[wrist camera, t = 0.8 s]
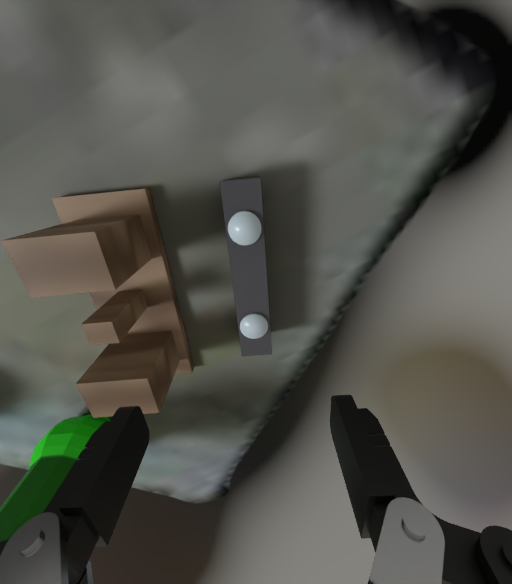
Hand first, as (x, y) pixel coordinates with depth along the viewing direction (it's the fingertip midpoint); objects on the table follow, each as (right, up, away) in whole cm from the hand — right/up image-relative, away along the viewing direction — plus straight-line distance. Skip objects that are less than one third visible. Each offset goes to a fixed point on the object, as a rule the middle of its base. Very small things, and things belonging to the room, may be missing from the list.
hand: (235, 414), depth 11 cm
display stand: (-12, +5, +16) cm, 20 cm away
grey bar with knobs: (0, +8, +15) cm, 17 cm away
